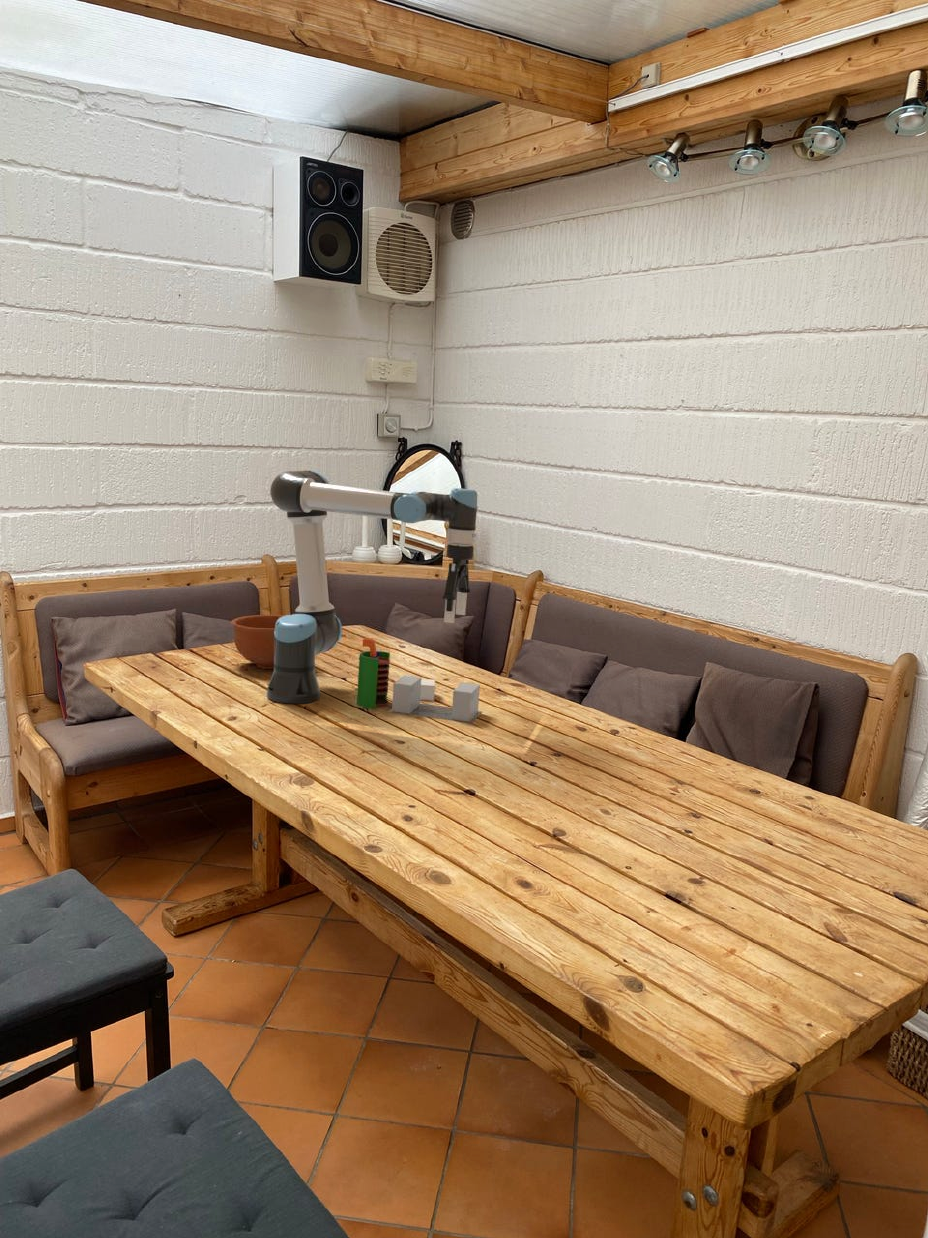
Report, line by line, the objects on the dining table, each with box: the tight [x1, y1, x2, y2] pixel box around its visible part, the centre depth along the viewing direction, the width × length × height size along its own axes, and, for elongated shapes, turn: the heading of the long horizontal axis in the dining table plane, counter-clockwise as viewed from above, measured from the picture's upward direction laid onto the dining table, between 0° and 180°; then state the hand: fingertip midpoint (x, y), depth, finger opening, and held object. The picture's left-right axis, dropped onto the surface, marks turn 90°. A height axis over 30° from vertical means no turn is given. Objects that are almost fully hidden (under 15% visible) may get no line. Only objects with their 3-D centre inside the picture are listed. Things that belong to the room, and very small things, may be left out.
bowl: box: [230, 614, 286, 670], centre depth 309 cm, size 25×25×15 cm
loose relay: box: [420, 678, 436, 701], centre depth 280 cm, size 5×7×6 cm
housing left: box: [391, 675, 423, 714], centre depth 266 cm, size 5×10×8 cm, turn 166°
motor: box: [356, 637, 391, 710], centre depth 268 cm, size 10×9×20 cm
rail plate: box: [387, 703, 483, 724], centre depth 265 cm, size 24×12×2 cm, turn 76°
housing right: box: [451, 681, 481, 721], centre depth 262 cm, size 5×10×8 cm, turn 166°
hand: (454, 618), depth 271 cm, fingers open, 13 cm apart
